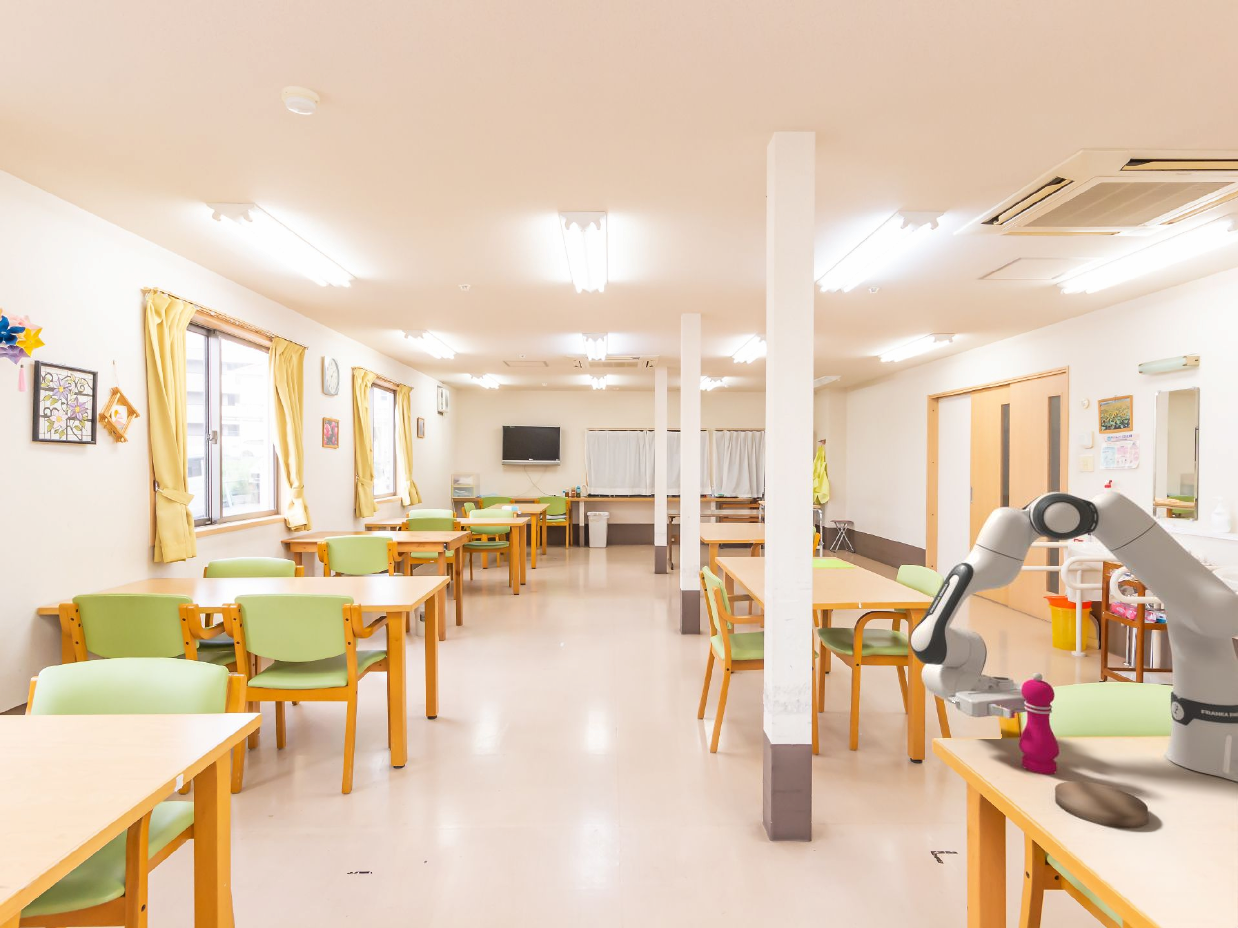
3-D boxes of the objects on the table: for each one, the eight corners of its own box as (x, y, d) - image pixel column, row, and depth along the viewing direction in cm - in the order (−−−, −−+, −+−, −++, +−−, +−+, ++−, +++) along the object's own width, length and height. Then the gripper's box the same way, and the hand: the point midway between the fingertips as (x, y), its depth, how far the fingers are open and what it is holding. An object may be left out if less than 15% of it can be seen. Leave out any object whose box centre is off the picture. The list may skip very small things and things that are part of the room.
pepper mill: (1025, 758, 149) (1023, 666, 149) (1063, 768, 143) (1061, 672, 144) (1015, 767, 143) (1013, 672, 144) (1054, 778, 138) (1052, 679, 139)
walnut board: (1117, 793, 132) (1117, 783, 132) (1167, 829, 118) (1167, 818, 118) (1040, 789, 133) (1040, 779, 133) (1081, 825, 119) (1081, 813, 119)
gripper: (942, 683, 157) (990, 702, 143) (1013, 676, 162) (1066, 693, 149) (943, 711, 156) (990, 732, 143) (1014, 703, 162) (1066, 722, 149)
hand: (1029, 712), depth 146 cm, fingers open, 8 cm apart
